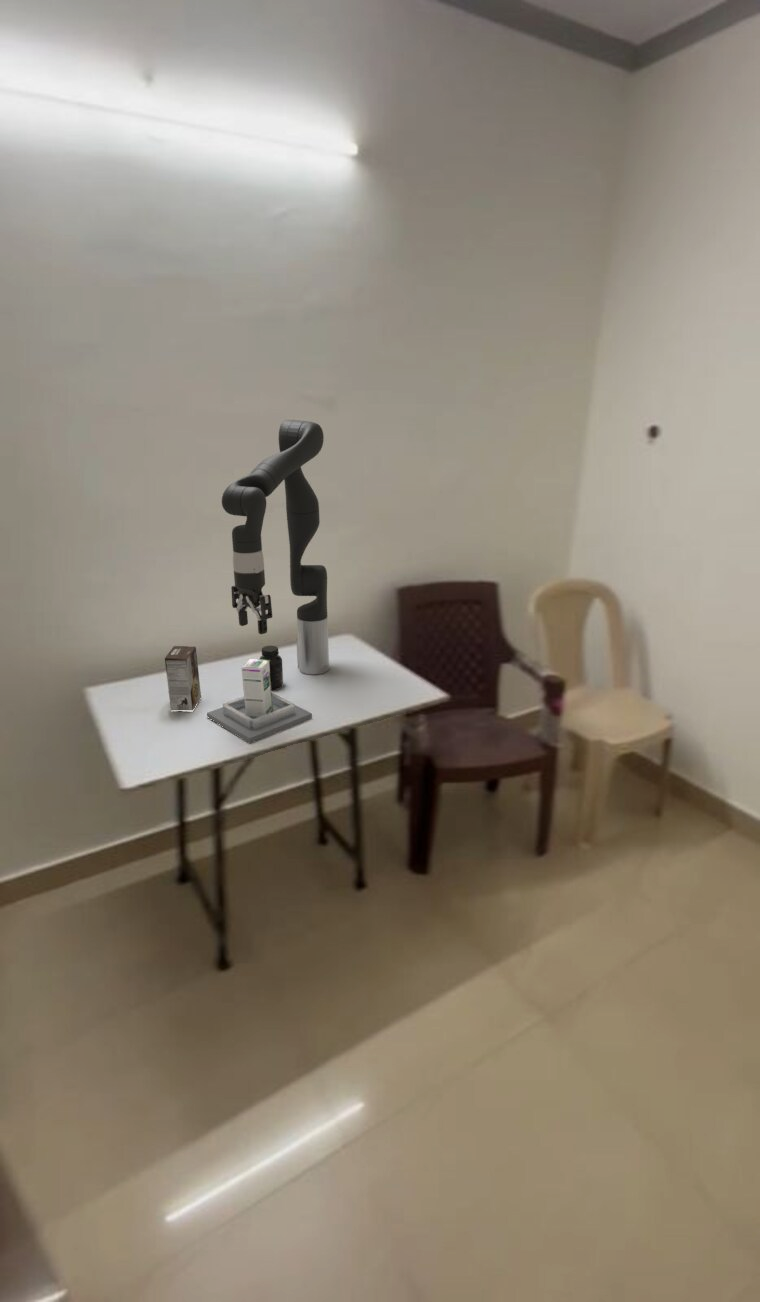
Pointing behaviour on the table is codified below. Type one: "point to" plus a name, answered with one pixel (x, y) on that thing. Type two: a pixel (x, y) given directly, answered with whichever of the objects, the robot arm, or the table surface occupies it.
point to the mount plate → (264, 731)
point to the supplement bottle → (274, 665)
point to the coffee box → (183, 678)
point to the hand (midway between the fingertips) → (253, 629)
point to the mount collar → (263, 720)
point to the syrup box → (257, 687)
